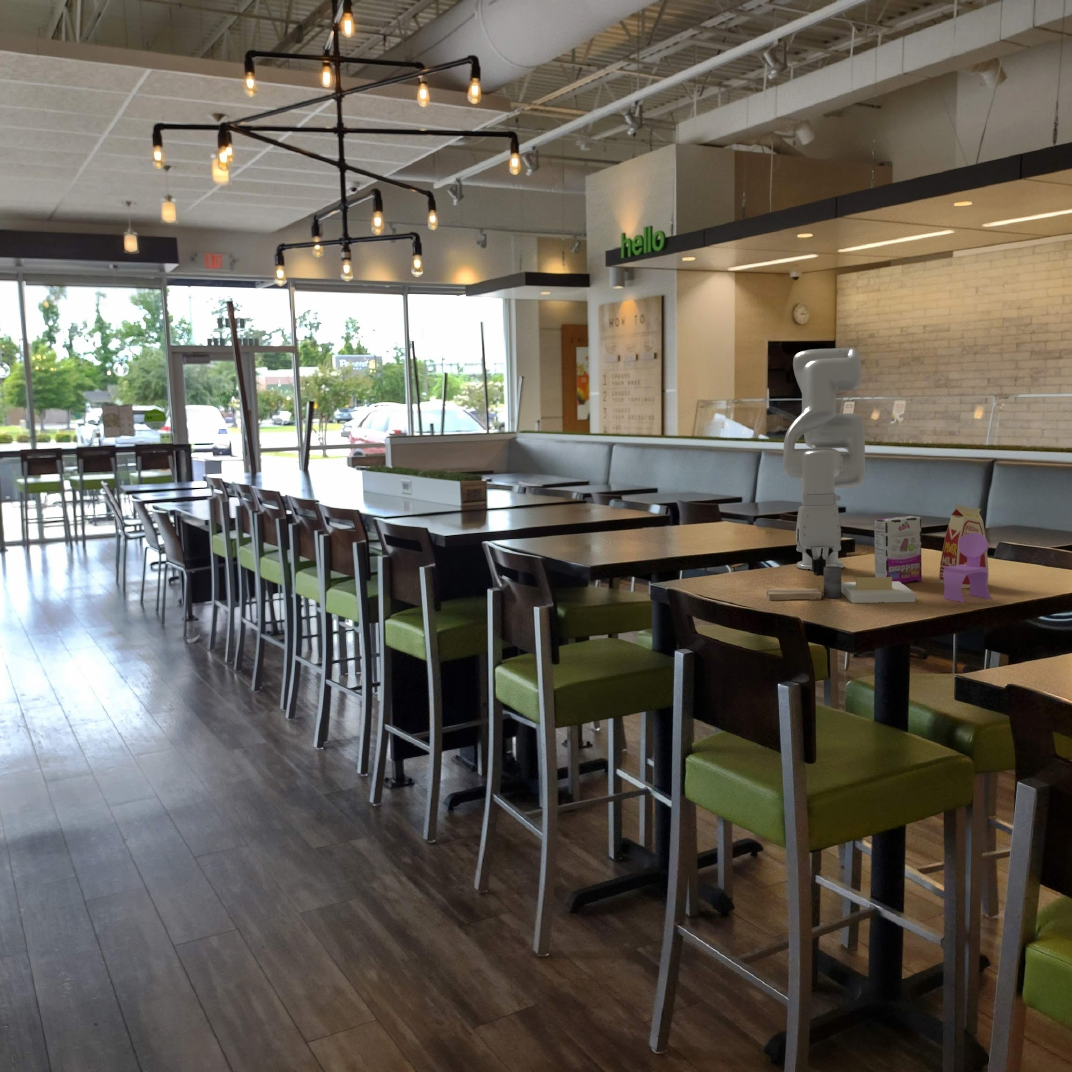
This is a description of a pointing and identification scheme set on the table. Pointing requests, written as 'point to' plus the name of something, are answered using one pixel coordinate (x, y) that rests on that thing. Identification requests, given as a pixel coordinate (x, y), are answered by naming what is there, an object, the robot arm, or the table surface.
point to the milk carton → (959, 526)
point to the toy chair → (968, 569)
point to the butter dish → (876, 590)
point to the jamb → (830, 589)
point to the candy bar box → (898, 548)
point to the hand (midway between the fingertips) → (818, 575)
